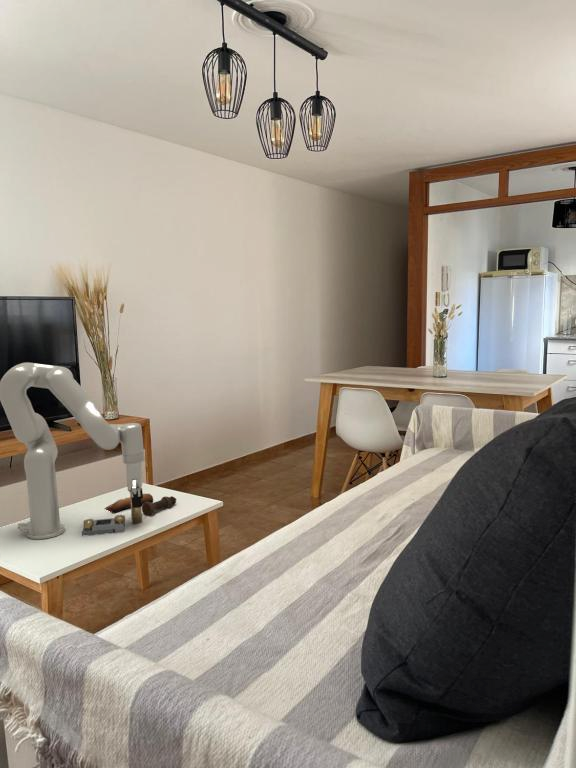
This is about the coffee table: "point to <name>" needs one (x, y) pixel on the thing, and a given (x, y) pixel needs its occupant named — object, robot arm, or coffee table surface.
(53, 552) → the coffee table surface
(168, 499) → the bolt
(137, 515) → the link pin
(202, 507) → the coffee table surface
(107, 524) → the brass knob on bracket
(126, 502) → the sunglasses case
